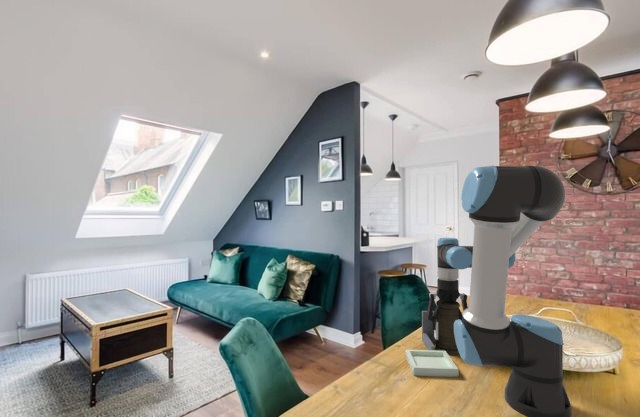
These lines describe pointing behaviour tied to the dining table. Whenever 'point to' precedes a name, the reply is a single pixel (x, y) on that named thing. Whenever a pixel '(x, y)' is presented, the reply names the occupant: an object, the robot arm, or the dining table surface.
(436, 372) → the tray
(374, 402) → the dining table surface
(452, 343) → the container
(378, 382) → the dining table surface
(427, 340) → the dock
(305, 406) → the dining table surface
